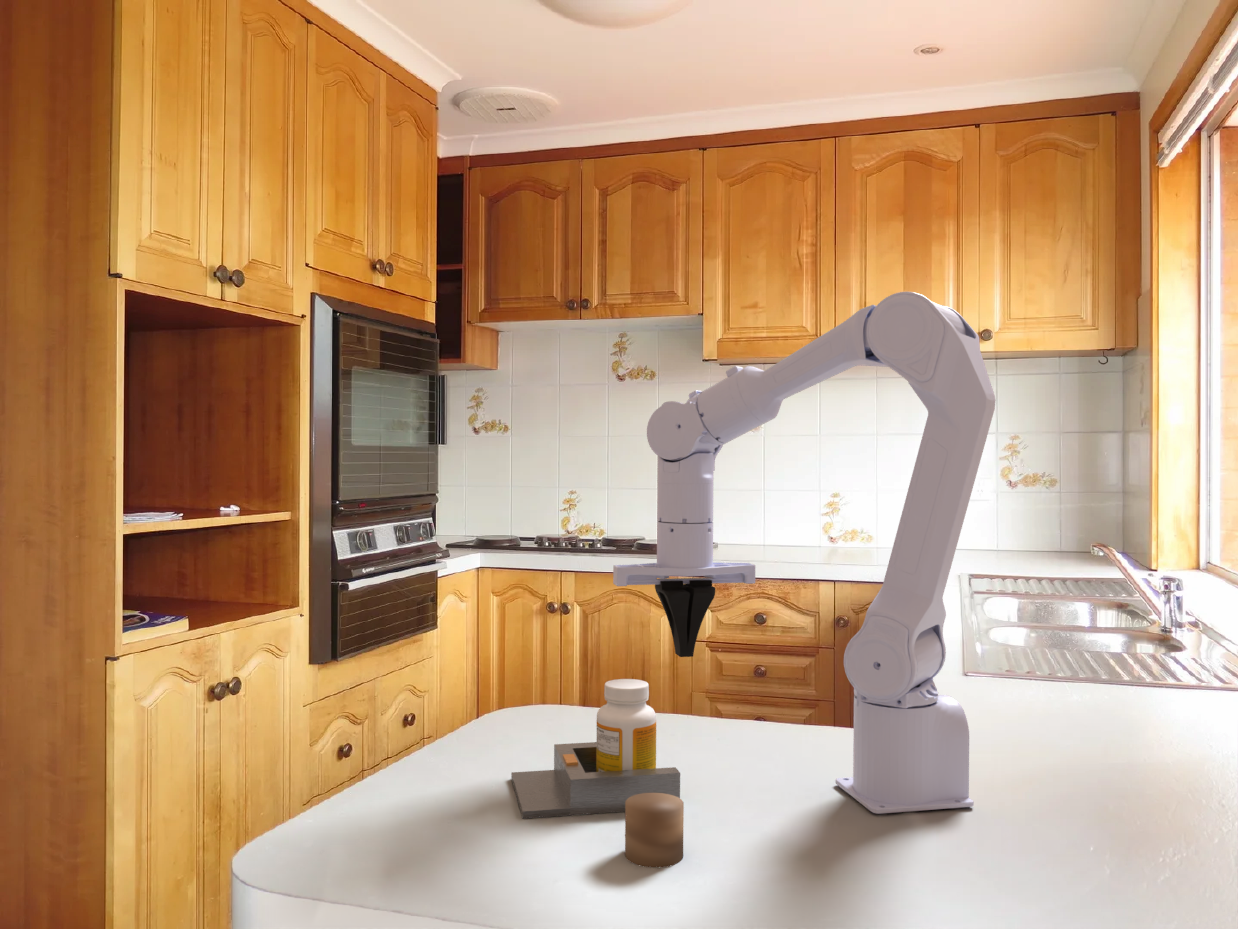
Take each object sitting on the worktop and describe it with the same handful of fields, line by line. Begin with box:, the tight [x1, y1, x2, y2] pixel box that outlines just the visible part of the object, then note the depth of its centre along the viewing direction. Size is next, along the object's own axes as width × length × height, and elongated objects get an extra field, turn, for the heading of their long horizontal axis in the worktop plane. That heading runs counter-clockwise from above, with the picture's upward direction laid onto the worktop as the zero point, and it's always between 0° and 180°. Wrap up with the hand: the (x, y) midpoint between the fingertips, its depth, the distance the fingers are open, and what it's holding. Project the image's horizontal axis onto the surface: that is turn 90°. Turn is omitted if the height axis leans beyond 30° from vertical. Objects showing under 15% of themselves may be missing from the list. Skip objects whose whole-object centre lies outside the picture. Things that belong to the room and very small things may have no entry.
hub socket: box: [511, 741, 681, 819], centre depth 86 cm, size 14×10×3 cm
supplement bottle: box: [596, 678, 657, 772], centre depth 86 cm, size 5×5×10 cm
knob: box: [624, 793, 685, 869], centre depth 72 cm, size 4×4×4 cm
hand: (684, 655), depth 98 cm, fingers closed
